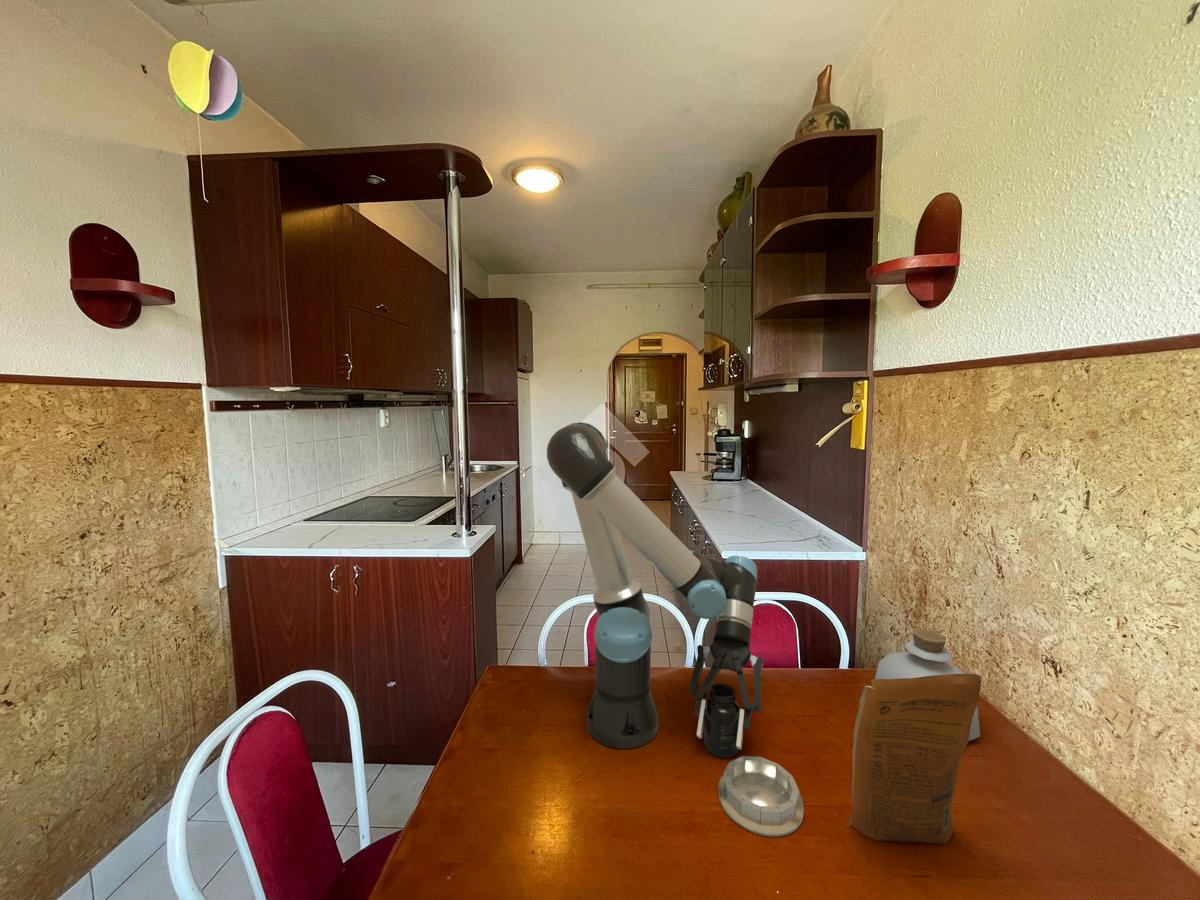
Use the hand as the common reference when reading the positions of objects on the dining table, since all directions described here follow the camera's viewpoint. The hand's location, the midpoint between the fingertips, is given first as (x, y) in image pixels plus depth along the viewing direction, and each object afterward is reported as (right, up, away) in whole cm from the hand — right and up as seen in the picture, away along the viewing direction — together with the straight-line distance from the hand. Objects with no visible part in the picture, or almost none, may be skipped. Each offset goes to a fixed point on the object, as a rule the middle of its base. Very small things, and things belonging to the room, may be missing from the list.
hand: (718, 742), depth 94 cm
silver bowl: (+5, -5, -9) cm, 11 cm away
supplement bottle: (+1, -3, +4) cm, 5 cm away
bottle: (+48, -2, +13) cm, 50 cm away
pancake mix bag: (+26, -6, -16) cm, 31 cm away
